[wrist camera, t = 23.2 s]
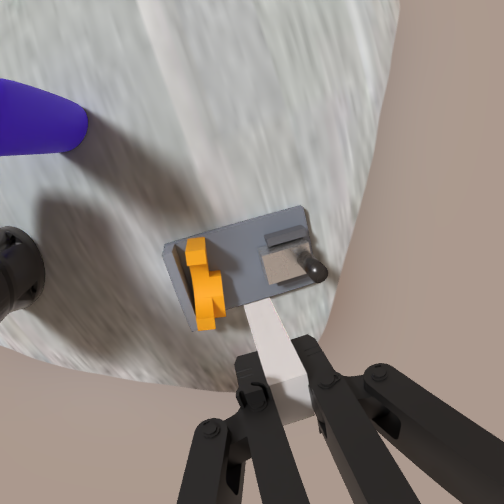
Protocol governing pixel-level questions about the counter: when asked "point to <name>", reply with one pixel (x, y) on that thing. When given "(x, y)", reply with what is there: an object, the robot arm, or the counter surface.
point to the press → (238, 259)
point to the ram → (290, 262)
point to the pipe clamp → (204, 285)
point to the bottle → (38, 121)
